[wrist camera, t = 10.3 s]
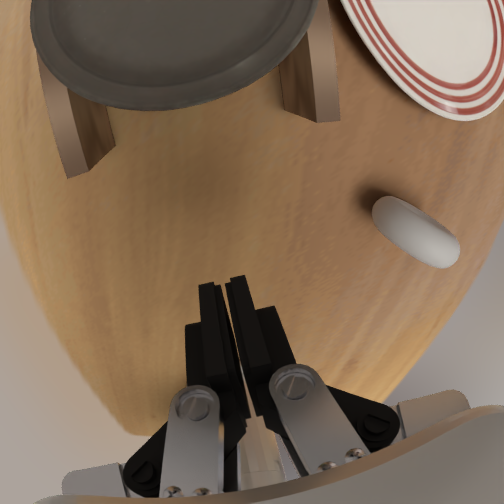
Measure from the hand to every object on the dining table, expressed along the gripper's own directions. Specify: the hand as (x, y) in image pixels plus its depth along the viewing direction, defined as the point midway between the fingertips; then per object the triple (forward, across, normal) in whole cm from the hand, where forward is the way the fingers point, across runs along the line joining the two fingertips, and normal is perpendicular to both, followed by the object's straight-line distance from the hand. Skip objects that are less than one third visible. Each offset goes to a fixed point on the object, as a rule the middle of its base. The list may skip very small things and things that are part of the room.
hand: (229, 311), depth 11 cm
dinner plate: (+16, -25, -18) cm, 35 cm away
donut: (+17, -18, +6) cm, 25 cm away
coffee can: (+16, 0, -13) cm, 20 cm away
